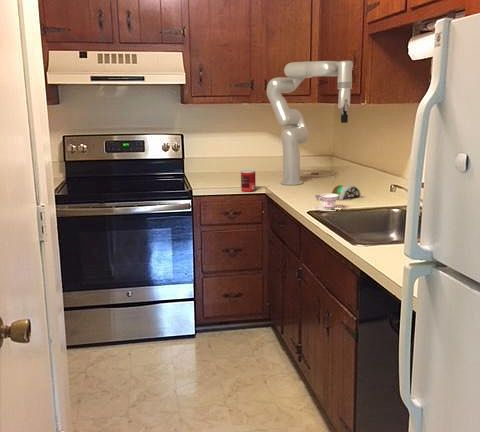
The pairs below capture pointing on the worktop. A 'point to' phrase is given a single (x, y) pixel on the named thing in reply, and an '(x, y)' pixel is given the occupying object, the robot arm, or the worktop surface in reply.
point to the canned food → (248, 181)
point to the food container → (346, 192)
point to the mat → (337, 198)
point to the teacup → (328, 202)
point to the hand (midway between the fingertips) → (344, 122)
